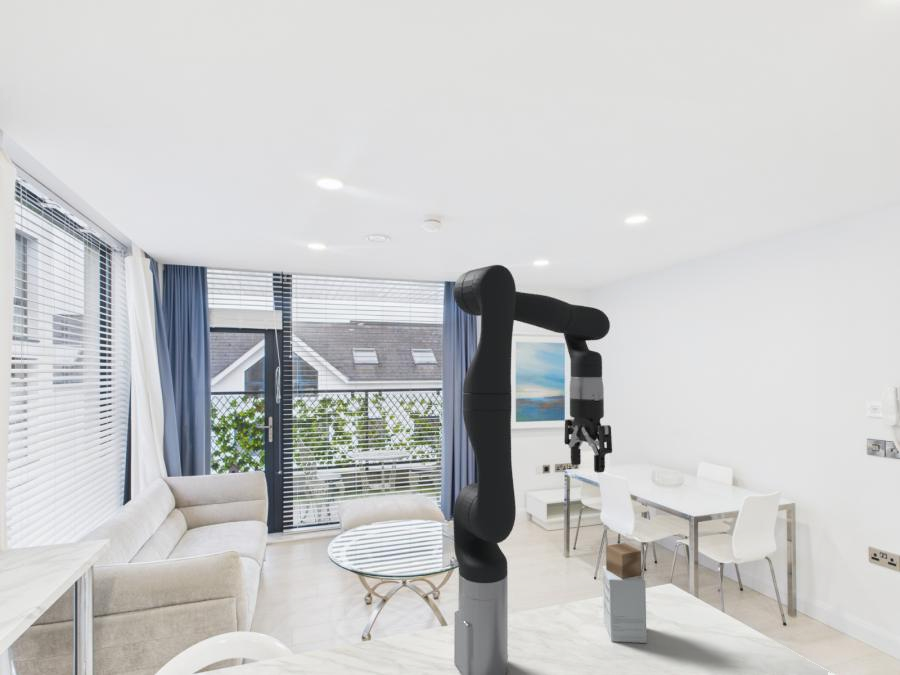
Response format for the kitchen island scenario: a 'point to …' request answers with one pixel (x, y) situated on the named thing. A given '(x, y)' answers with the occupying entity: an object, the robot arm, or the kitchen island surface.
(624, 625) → the supplement box
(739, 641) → the kitchen island surface
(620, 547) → the walnut cube
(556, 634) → the kitchen island surface
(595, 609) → the kitchen island surface
